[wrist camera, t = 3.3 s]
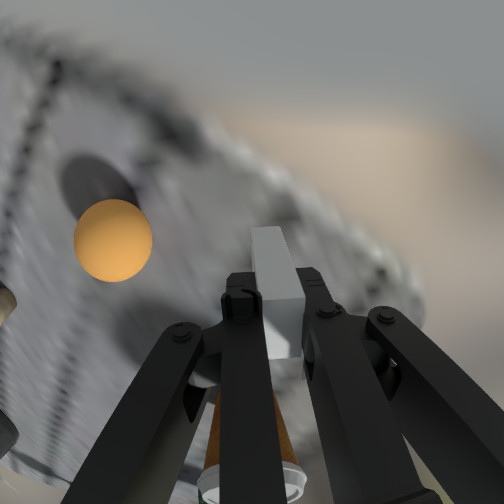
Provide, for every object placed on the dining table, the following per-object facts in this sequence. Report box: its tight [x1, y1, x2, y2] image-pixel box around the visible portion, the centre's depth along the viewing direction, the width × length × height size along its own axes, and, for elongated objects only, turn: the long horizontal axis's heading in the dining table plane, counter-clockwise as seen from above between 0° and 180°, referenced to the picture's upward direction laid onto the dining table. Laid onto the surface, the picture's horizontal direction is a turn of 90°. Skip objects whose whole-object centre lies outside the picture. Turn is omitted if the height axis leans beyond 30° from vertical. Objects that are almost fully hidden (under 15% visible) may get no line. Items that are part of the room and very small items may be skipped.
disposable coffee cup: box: [197, 390, 307, 504], centre depth 25 cm, size 10×10×12 cm
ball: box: [74, 199, 152, 282], centre depth 19 cm, size 6×6×6 cm
